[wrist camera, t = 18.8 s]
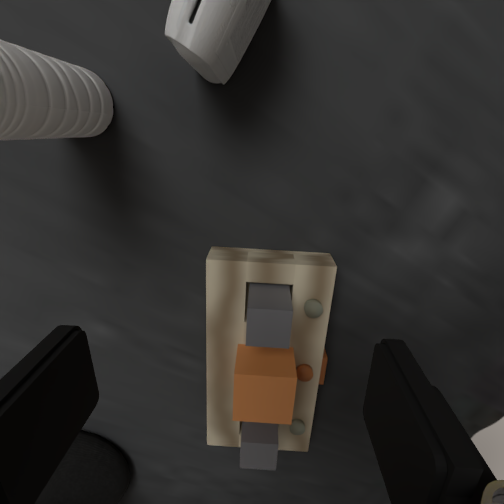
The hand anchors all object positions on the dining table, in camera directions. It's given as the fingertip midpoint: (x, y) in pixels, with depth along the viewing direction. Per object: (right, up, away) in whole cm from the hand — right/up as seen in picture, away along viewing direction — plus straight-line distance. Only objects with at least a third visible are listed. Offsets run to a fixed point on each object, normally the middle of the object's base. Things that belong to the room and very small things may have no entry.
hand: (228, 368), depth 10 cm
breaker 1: (+3, -2, +26) cm, 26 cm away
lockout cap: (+2, -10, +29) cm, 30 cm away
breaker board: (+2, -9, +32) cm, 34 cm away
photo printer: (-1, +25, +20) cm, 32 cm away
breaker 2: (+2, -19, +32) cm, 37 cm away
